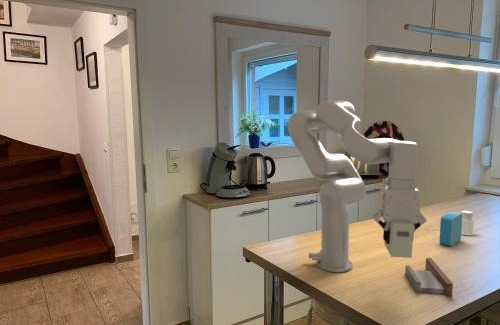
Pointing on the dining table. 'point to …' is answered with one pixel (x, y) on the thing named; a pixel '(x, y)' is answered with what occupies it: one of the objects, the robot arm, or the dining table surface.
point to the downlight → (467, 223)
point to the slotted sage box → (400, 239)
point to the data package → (450, 228)
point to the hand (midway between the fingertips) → (397, 242)
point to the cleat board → (429, 279)
